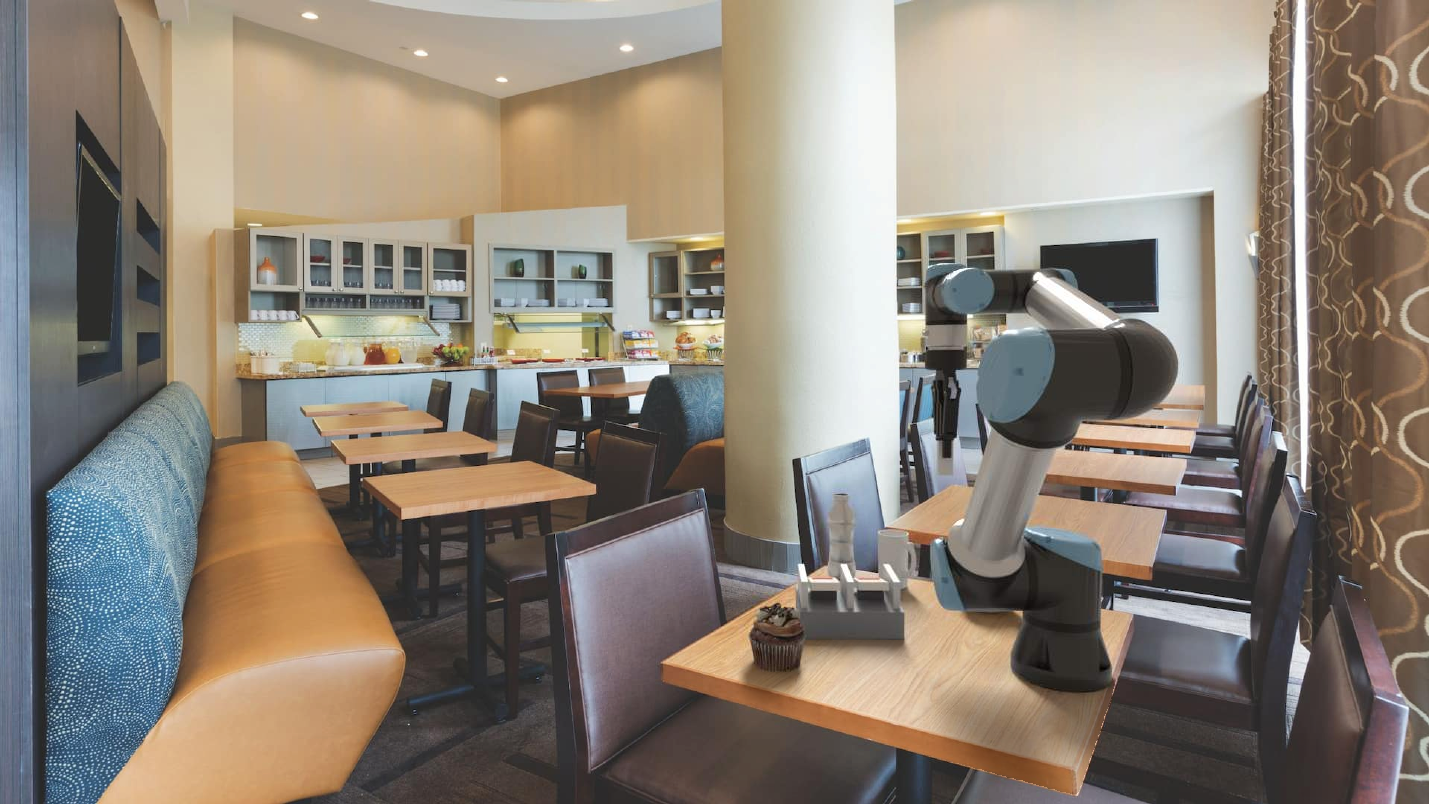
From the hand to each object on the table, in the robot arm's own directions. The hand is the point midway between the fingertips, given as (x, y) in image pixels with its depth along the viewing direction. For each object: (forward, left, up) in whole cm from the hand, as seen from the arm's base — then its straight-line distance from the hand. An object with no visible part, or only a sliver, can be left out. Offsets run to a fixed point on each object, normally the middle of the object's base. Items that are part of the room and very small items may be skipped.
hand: (944, 474), depth 145 cm
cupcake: (-17, +32, -30) cm, 47 cm away
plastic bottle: (+30, +16, -30) cm, 45 cm away
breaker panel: (+2, +18, -29) cm, 35 cm away
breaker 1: (+2, +22, -22) cm, 32 cm away
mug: (+25, +4, -30) cm, 39 cm away
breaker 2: (+2, +14, -22) cm, 26 cm away
